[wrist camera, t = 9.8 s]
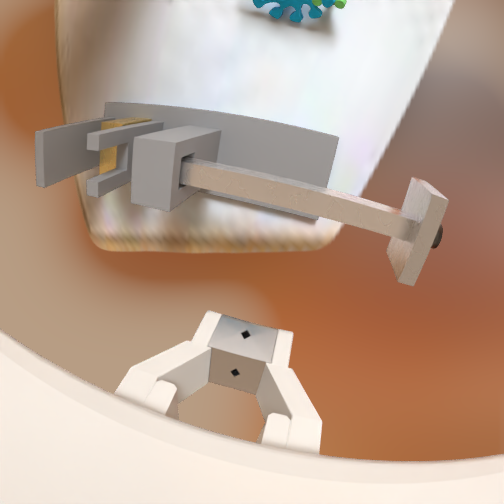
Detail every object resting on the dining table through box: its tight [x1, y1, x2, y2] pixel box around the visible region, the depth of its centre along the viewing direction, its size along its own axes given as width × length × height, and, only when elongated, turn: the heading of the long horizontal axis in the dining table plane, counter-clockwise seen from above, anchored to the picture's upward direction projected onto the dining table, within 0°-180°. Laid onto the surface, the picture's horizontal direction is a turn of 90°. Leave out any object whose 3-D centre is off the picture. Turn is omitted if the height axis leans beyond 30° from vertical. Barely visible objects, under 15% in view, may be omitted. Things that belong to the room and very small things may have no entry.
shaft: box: [179, 157, 449, 286], centre depth 26 cm, size 8×28×6 cm, turn 79°
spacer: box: [99, 117, 152, 175], centre depth 33 cm, size 6×3×6 cm, turn 169°
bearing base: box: [35, 102, 339, 220], centre depth 30 cm, size 10×30×14 cm, turn 79°
